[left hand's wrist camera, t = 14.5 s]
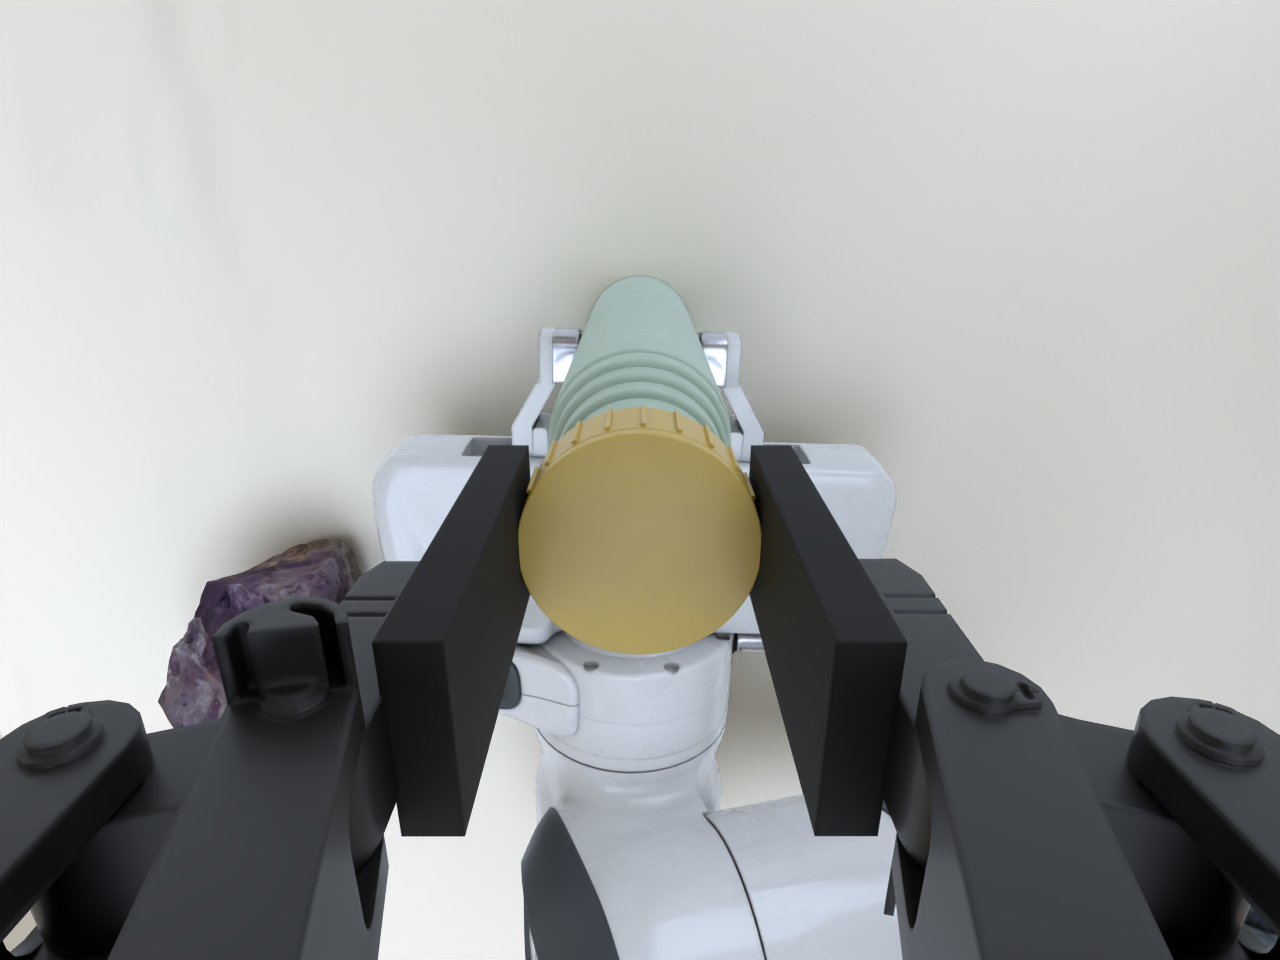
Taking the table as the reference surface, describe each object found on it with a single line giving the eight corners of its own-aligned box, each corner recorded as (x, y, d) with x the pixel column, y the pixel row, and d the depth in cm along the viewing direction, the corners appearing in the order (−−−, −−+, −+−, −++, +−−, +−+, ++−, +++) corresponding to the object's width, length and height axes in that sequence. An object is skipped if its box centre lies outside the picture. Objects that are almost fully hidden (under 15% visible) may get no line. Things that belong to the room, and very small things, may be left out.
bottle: (614, 391, 35) (579, 682, 14) (572, 301, 33) (464, 480, 13) (705, 353, 34) (803, 598, 14) (666, 258, 33) (711, 374, 12)
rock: (392, 518, 38) (206, 553, 39) (322, 574, 30) (85, 617, 30) (446, 721, 41) (270, 751, 41) (396, 824, 32) (176, 861, 33)
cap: (604, 644, 15) (600, 694, 14) (482, 476, 14) (463, 510, 12) (791, 548, 15) (808, 590, 13) (680, 359, 13) (686, 381, 12)
